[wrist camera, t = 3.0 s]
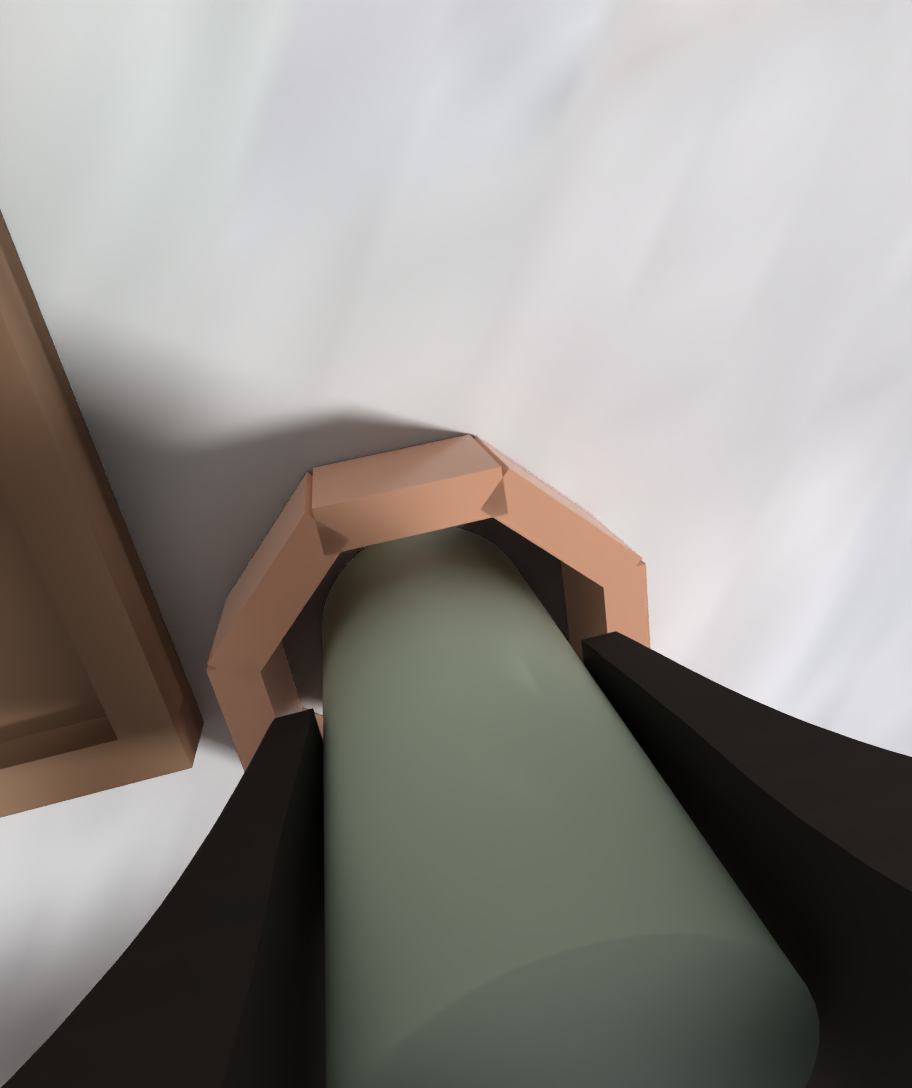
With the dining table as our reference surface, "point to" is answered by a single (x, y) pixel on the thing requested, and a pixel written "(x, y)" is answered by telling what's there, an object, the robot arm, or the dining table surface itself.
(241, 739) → the orange octagonal ring
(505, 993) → the green pin
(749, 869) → the robot arm
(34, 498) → the serving tray
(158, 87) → the dining table surface
